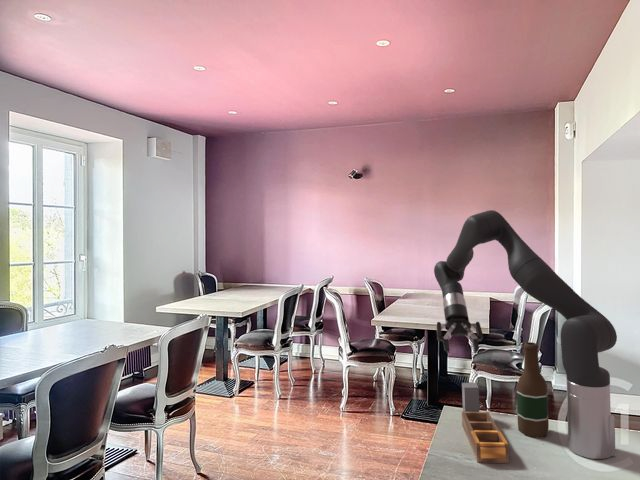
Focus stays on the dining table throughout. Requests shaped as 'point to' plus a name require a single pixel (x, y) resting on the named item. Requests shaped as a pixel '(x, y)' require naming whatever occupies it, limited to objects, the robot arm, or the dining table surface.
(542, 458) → the dining table surface
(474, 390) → the block
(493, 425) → the bay rack
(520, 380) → the beer bottle
